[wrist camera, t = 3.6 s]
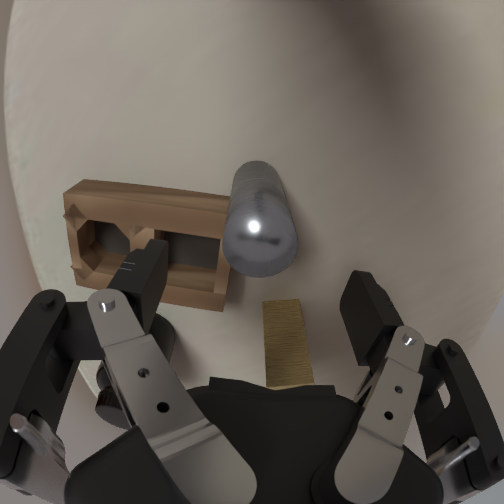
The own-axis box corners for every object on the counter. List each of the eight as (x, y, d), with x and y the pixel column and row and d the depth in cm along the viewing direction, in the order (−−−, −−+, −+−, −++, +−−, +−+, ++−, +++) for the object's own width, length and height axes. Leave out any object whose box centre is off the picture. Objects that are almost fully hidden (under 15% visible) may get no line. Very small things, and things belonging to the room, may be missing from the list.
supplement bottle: (181, 350, 33) (163, 439, 22) (129, 346, 33) (102, 428, 22) (170, 307, 29) (142, 407, 19) (112, 305, 29) (71, 393, 19)
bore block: (81, 179, 22) (60, 193, 19) (240, 198, 23) (239, 216, 20) (89, 264, 26) (74, 284, 23) (225, 287, 28) (222, 312, 25)
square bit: (262, 301, 29) (266, 387, 20) (298, 299, 28) (314, 382, 20) (264, 327, 30) (268, 408, 22) (298, 324, 30) (311, 404, 22)
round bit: (237, 157, 21) (227, 205, 13) (283, 165, 22) (306, 218, 13) (230, 200, 23) (217, 272, 15) (274, 207, 23) (287, 281, 15)
